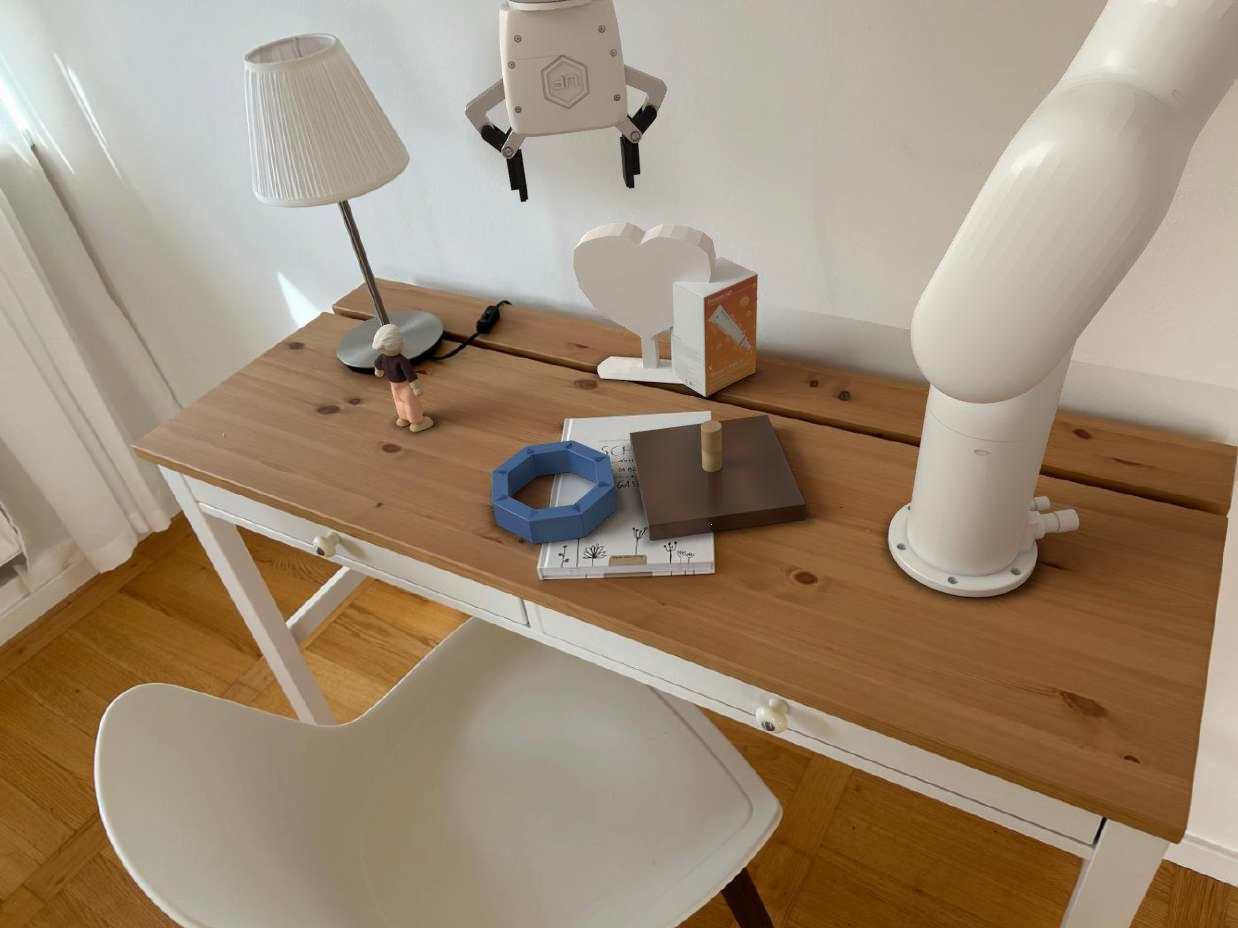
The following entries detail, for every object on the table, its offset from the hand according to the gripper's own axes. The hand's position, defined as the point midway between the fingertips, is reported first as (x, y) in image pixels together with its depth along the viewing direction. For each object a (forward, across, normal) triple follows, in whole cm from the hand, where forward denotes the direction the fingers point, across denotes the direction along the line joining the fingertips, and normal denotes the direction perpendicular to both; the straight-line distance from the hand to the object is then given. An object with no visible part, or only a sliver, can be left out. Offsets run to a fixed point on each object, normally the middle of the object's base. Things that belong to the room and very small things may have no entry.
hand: (576, 189), depth 82 cm
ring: (+28, -6, -10) cm, 30 cm away
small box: (+28, +14, +10) cm, 33 cm away
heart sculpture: (+28, +7, +12) cm, 32 cm away
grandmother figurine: (+28, -22, +8) cm, 37 cm away
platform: (+28, +10, -10) cm, 31 cm away
